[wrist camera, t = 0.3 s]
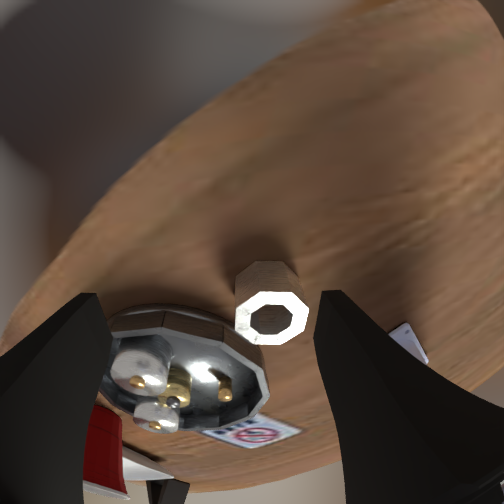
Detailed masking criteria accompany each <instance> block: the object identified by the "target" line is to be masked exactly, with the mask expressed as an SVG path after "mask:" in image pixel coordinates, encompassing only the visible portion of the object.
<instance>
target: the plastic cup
mask: <svg viewBox="0 0 504 504" xmlns="http://www.w3.org/2000/svg"><path fill="white" fill-rule="evenodd" d="M83 490H84V491H87V492H91V493H94V494H98V495H103V496H107V497H111V498H118V499H126V500H129V499H130V496H129V495H127V491H126V487H125V484H124V477H123V454H122V420H121V419H120V417H119V416H118V415H116V414H115V413H114V412H112V411H110V410H108V409H106V408H103V407H101V406H98V405H94V406H93V410H92V413H91V416H90V420H89V424H88V429H87V436H86V443H85V451H84V463H83Z"/></svg>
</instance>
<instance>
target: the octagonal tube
mask: <svg viewBox="0 0 504 504" xmlns="http://www.w3.org/2000/svg"><path fill="white" fill-rule="evenodd" d="M308 311H309V309H308V305H307V302H306V299H305V296H304V293H303V289H302V286H301V283H300V280H299V278H298V276H297V275H296V274H295V273H294V272H293V271H292V270H291V269H290V268H289V267H288V266H287V265H286V264H285V263H284V262H282V261H258V260H256V261H255V262H254V263H252V264H251V265H250V266H248V267H247V268H246V269H244V270H243V271H242V272H240V273H239V274H238V275H236V281H235V331H237V332H238V333H239V334H241V335H242V336H243V337H245V338H246V339H247V340H249V341H250V342H251V343H253V344H282V343H284V342H285V341H287V340H289V339H290V338H292V337H294V336H295V335H297V334H299V333H300V332H302V331H303V330H304V326H305V322H306V319H307V315H308Z"/></svg>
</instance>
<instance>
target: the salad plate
mask: <svg viewBox="0 0 504 504" xmlns="http://www.w3.org/2000/svg"><path fill="white" fill-rule="evenodd" d="M122 454H123V477H124V480H156V479H169V478H174V476H173V474H172V473H171V472H170V471H169V470H167V469H166V468H165V467H163V466H162V465H160V464H158V463H156V462H154V461H152V460H150V459H149V458H147V457H146V456H143V455H141V454H139V453H137V452H135V451H133V450H131V449H128V448H126V447H124V446H122Z"/></svg>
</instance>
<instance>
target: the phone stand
mask: <svg viewBox="0 0 504 504" xmlns="http://www.w3.org/2000/svg"><path fill="white" fill-rule="evenodd" d="M146 484H147V491H148V498H149V504H184V502H185V499H186V496H187V493H188V490H189V487H190V484H189V483H185V482H182V481H178V480H175V479H172V478H169V479H156V480H146Z"/></svg>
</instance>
